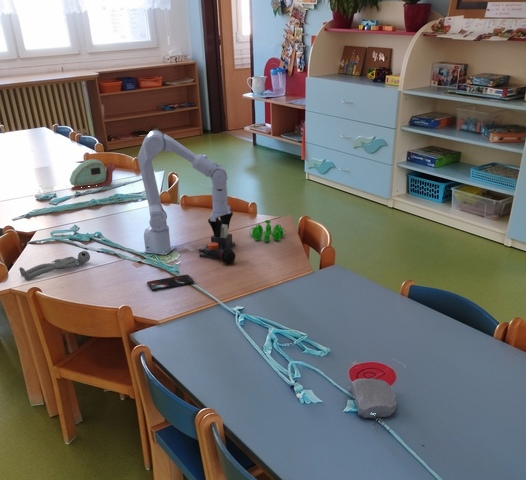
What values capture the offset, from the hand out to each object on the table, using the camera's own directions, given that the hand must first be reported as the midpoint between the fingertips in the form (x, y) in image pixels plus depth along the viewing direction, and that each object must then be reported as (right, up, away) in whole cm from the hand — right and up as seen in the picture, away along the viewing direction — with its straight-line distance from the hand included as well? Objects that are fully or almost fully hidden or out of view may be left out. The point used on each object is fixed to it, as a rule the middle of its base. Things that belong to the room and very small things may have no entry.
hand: (221, 233), depth 225 cm
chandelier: (+18, +1, +13) cm, 22 cm away
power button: (-3, -7, -5) cm, 9 cm away
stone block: (+43, -58, -87) cm, 113 cm away
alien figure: (-58, -17, -16) cm, 63 cm away
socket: (0, -5, +3) cm, 6 cm away
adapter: (-1, -7, 0) cm, 7 cm away
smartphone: (-16, -22, -27) cm, 38 cm away
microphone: (-2, -9, -8) cm, 12 cm away
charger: (0, -2, +1) cm, 3 cm away
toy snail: (-74, +42, +83) cm, 119 cm away
